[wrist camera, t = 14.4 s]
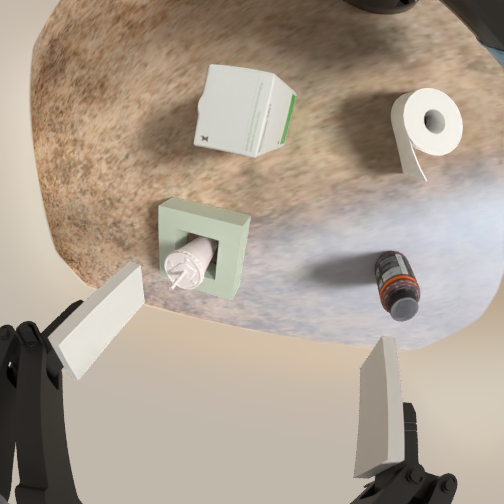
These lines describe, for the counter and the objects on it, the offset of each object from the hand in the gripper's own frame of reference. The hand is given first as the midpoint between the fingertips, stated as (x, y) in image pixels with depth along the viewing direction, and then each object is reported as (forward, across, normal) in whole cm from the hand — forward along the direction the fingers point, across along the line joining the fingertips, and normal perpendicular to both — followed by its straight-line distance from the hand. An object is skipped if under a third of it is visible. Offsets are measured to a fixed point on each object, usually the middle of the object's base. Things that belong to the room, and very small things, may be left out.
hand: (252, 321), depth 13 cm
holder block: (+29, -14, -14) cm, 35 cm away
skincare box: (+29, -7, +9) cm, 31 cm away
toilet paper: (+29, +13, +12) cm, 34 cm away
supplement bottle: (+29, +17, -9) cm, 35 cm away
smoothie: (+29, -14, -14) cm, 35 cm away
